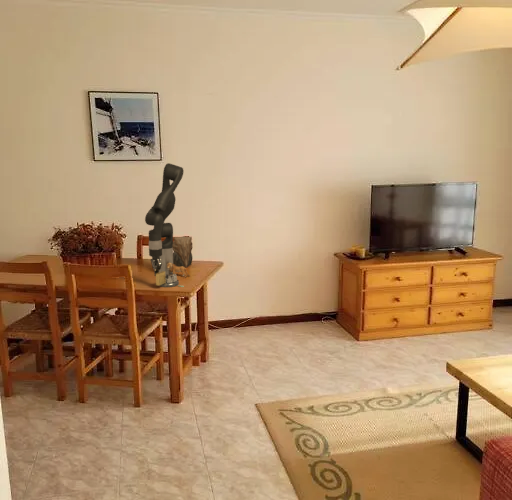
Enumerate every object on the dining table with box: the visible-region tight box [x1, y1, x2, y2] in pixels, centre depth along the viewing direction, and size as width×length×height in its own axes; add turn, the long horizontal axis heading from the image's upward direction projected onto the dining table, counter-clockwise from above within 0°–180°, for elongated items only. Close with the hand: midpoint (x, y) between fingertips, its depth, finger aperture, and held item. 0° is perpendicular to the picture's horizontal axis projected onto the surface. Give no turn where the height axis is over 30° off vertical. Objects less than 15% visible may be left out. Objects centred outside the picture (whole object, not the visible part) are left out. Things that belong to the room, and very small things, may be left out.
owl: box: [173, 235, 193, 269], centre depth 342 cm, size 13×13×20 cm
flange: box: [159, 274, 180, 288], centre depth 295 cm, size 12×12×6 cm
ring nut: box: [155, 271, 178, 287], centre depth 292 cm, size 16×10×7 cm, turn 155°
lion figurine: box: [167, 263, 190, 278], centre depth 313 cm, size 15×5×9 cm, turn 88°
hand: (156, 276), depth 289 cm, fingers closed
